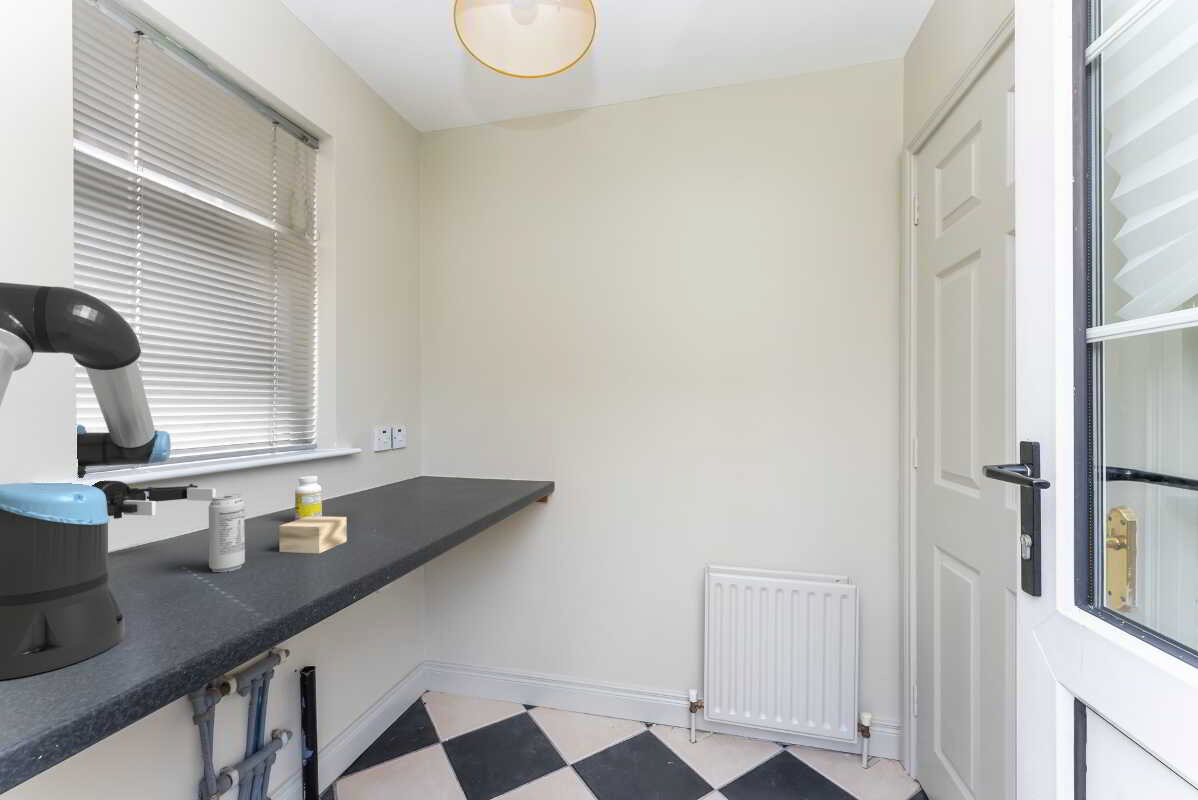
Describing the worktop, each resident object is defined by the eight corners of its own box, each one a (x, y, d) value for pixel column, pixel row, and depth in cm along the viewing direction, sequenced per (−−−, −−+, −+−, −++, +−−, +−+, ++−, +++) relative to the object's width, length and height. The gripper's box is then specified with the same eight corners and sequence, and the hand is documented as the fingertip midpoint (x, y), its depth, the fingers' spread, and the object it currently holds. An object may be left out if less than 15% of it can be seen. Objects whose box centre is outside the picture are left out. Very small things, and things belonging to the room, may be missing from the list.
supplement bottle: (296, 520, 150) (296, 476, 150) (322, 518, 153) (322, 474, 153) (294, 525, 144) (293, 479, 144) (321, 522, 147) (320, 477, 147)
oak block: (319, 553, 118) (319, 527, 118) (279, 551, 119) (279, 525, 119) (346, 541, 128) (346, 517, 128) (309, 540, 129) (309, 516, 129)
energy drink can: (237, 562, 112) (237, 492, 112) (250, 567, 108) (249, 495, 108) (204, 570, 107) (203, 497, 107) (216, 575, 103) (215, 500, 103)
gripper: (156, 502, 125) (235, 505, 122) (29, 530, 100) (124, 535, 97) (156, 471, 125) (235, 473, 122) (28, 491, 100) (123, 495, 97)
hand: (186, 501), depth 109 cm, fingers open, 13 cm apart
